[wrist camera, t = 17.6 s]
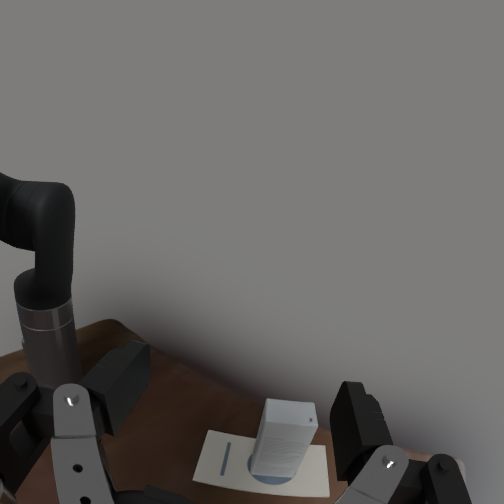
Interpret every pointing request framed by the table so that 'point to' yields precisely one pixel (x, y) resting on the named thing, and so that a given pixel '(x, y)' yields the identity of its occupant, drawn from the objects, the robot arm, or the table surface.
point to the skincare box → (283, 437)
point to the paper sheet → (239, 478)
